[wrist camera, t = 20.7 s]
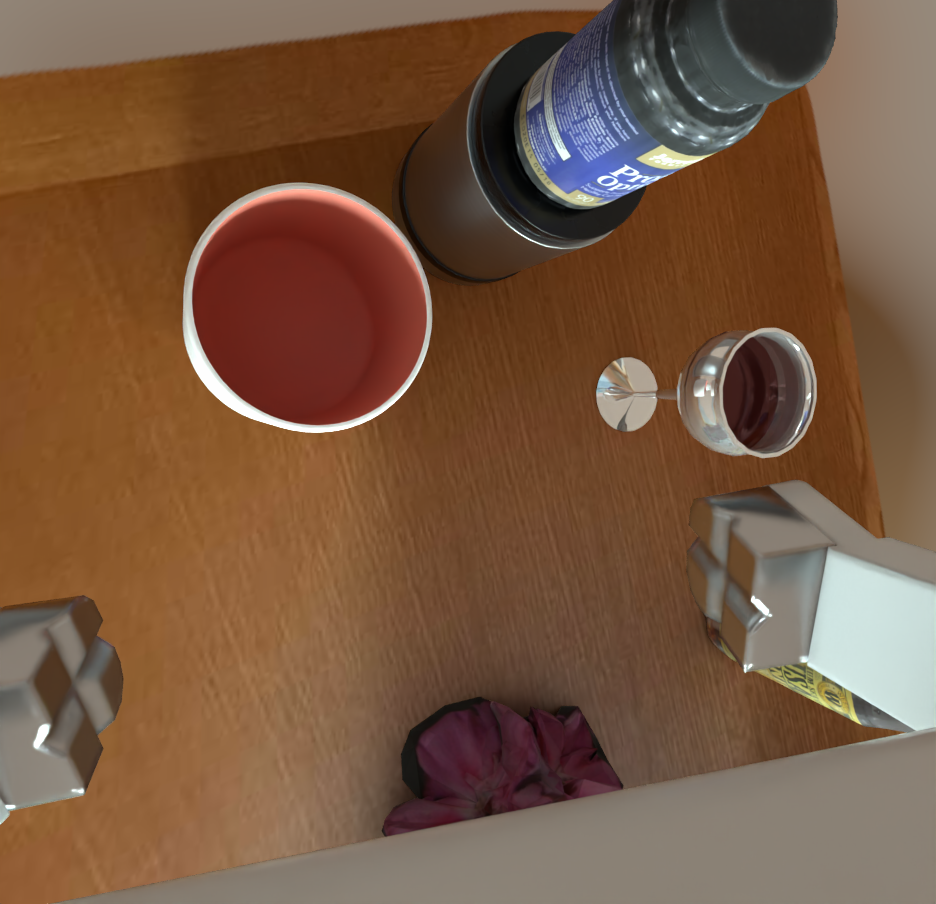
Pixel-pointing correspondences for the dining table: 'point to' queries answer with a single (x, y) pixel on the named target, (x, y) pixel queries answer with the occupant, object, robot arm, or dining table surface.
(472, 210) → the canister
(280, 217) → the cup
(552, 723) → the flower arrangement
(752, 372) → the wineglass
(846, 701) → the sauce bottle
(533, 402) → the dining table surface
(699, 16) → the pill bottle
